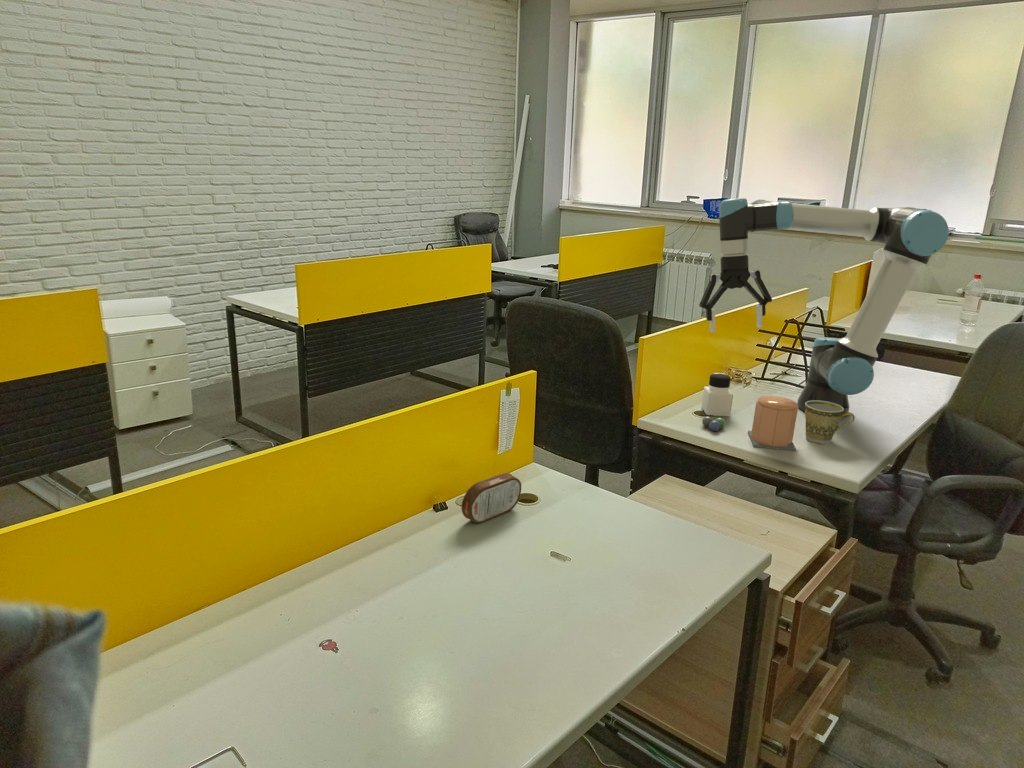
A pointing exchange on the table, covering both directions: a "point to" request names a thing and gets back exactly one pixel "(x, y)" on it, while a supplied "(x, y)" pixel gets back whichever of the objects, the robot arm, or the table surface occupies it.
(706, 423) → the charcoal marble
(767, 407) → the peach domed post
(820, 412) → the ceramic cup
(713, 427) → the navy marble
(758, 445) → the slate mat
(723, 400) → the medicine bottle
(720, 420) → the bottle-green marble
